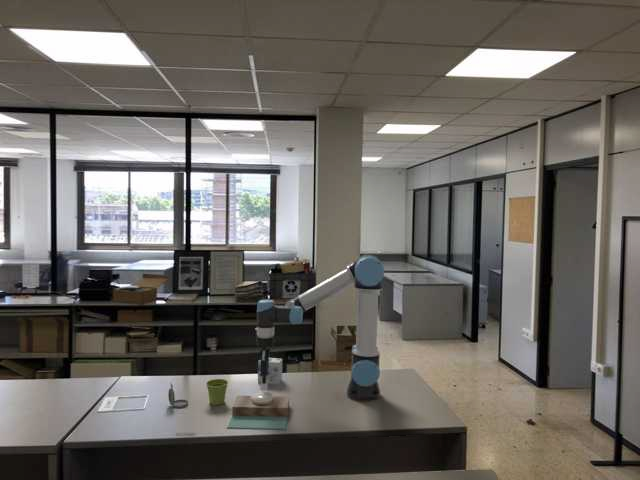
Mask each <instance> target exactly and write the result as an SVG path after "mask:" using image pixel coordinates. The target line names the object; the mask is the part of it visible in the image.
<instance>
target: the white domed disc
mask: <svg viewBox="0 0 640 480" xmlns="http://www.w3.org/2000/svg"><path fill="white" fill-rule="evenodd" d="M250 396H251V402H252V403H254V404H260V405H263V404H269V403H271V402H272V401H273V396H274V395H273V394H272V393H271V392H268V391H259V392H255V393H252V394H251V395H250Z"/></svg>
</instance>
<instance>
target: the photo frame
mask: <svg viewBox="0 0 640 480" xmlns="http://www.w3.org/2000/svg"><path fill="white" fill-rule="evenodd" d="M145 397H146V398H145ZM129 398H131V399H132V398H145V402H144V405H143V407H138V408H137V407H136V408H132V407H131V408H121V409H119V408H117V409H114V408H115V406H116V404H117V402H118V400H119V399H129ZM149 398H150V394H142V395H140V394H139V395H138V394H137V395H122V396H107V397H106V396H105V397H104V399H103V401H102V403H101V405H100V407H99V408H98V410H97V413H111V412H126V411H139V410H140V411H143V410H146V407H147V404H148V401H149Z"/></svg>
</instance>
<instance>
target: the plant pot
mask: <svg viewBox="0 0 640 480" xmlns="http://www.w3.org/2000/svg"><path fill="white" fill-rule="evenodd" d="M205 385H206V388H207V391H208V392H207V393H208V399H209V403H210V404H211V405H213V406H218V405H222V404H224V403H225V400H226V392H227V388H228V385H229V380H227V379H223V378H212V379H210V380H208V381H206V382H205Z"/></svg>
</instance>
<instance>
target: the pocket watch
mask: <svg viewBox="0 0 640 480" xmlns="http://www.w3.org/2000/svg"><path fill="white" fill-rule="evenodd" d="M169 384H170V388H169V389H168V393H167V394H168V395H167V397H168V402H169V404H170V405H171V406H173V407H175V408H183V407H186V406H187V405H188V404H189V401H188V400H187V399H177V400H176V397H175V396H176V395H175V391H174V389H173V387H174V386H173V384H172V383H171V382H170V383H169Z"/></svg>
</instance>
